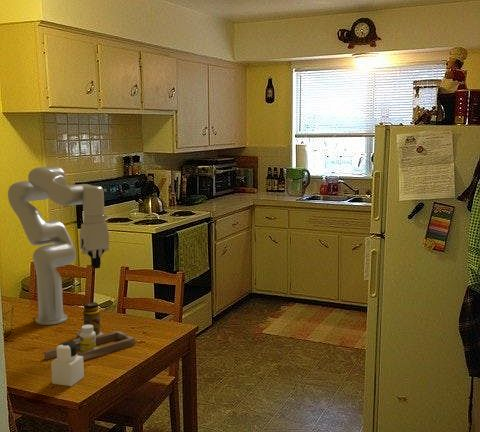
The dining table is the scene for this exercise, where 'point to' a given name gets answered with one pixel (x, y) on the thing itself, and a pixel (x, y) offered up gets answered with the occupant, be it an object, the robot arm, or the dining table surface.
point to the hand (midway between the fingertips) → (96, 267)
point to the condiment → (92, 317)
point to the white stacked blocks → (67, 365)
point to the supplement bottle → (87, 338)
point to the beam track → (98, 351)
